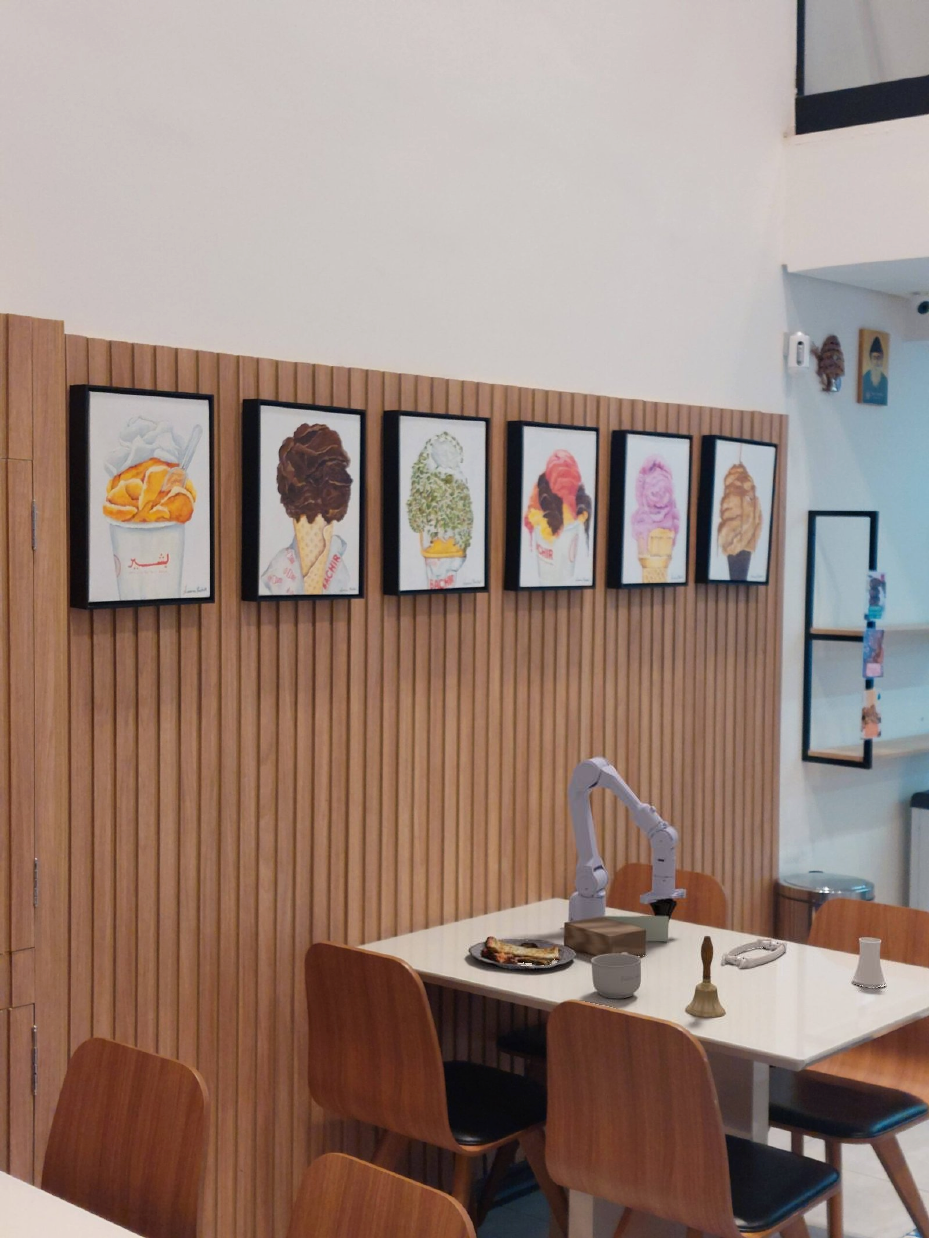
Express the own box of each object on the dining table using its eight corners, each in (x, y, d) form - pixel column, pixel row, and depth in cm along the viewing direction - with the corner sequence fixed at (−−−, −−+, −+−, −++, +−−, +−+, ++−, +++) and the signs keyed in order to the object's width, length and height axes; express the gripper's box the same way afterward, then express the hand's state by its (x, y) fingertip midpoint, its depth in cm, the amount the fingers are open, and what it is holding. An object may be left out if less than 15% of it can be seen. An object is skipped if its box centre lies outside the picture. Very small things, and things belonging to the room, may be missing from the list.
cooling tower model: (876, 978, 328) (878, 935, 328) (892, 988, 321) (893, 943, 320) (845, 979, 327) (847, 936, 326) (860, 988, 319) (861, 944, 319)
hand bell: (730, 1017, 296) (732, 941, 296) (690, 1017, 295) (692, 941, 295) (720, 1005, 304) (721, 931, 304) (681, 1005, 304) (683, 931, 303)
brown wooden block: (563, 948, 349) (564, 922, 349) (600, 941, 356) (600, 916, 356) (608, 963, 336) (609, 936, 336) (645, 955, 344) (646, 929, 343)
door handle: (796, 952, 352) (750, 972, 332) (759, 945, 358) (712, 964, 338) (796, 941, 352) (750, 961, 332) (759, 934, 358) (712, 953, 338)
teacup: (627, 1005, 303) (628, 967, 303) (581, 996, 309) (582, 959, 309) (654, 990, 315) (655, 953, 315) (610, 981, 321) (611, 946, 321)
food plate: (456, 965, 331) (456, 950, 331) (484, 943, 353) (485, 929, 353) (561, 980, 323) (562, 964, 323) (583, 956, 346) (584, 941, 346)
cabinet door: (601, 940, 356) (601, 916, 356) (599, 937, 359) (600, 914, 358) (668, 940, 357) (668, 917, 357) (666, 938, 359) (666, 914, 359)
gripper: (654, 881, 353) (653, 935, 353) (695, 874, 362) (694, 928, 362) (634, 876, 359) (633, 930, 359) (675, 870, 367) (673, 922, 368)
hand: (662, 928), depth 361 cm, fingers closed
